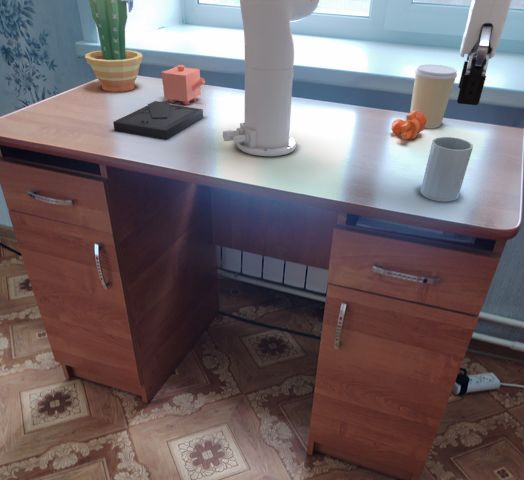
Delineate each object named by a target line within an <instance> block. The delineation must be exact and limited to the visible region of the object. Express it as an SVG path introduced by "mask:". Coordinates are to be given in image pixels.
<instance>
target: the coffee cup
mask: <svg viewBox="0 0 524 480" xmlns="http://www.w3.org/2000/svg"><path fill="white" fill-rule="evenodd" d="M457 76H458V73H457V69H456V68H454V67H451V66H448V65H441V64H421V65H418V66H417V68H416V69H415V77H414V84H413V89H412V96H411V103H410V111H409V113H410V112H412V111H415V110H417V112H421V113H423V114H424V115H425V116H426V118H427V122H426V125H425V129H436V128H439V127H441V125H442V122H443V119H444V116H445V113H446V110H447V107H448V104H449V101H450V98H451V94H452V91H453V88H454V86H455V85H454V84H455V81H456V78H457Z"/></svg>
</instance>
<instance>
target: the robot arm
mask: <svg viewBox="0 0 524 480" xmlns="http://www.w3.org/2000/svg"><path fill="white" fill-rule="evenodd" d="M319 3H320V0H239V6H240V12H241V21H242V27H243V38H244V122H240V123H239V127H237V128H236V129H235V130H231V129H230V130H224V131H222V139H223V141H224V142H228V141H233V142H234V144H236V146H237V148H238V149H239V150H241V151H242V152H243V153H245V154H249V155H253V156H260V157H280V156H284V155H289V154H290V153H292V152H294V151H295V150H296V148H297V141H296V140H295V138H293V136H290V128H291V116H292V115H291V114H292V97H293V82H294V81H293V80H294V64H295V63H294V62H295V45H294V38H293V33H292V29H291V23H294V22H298V21H302V20H304V19H307V18H309V17H310V16H311V15H312V14H314V12H315V11H316V9H317V8H318V5H319ZM511 3H512V0H470V5H469V9H468V14H467V17H466V22H465V26H464V30H463V34H462V39H461V42H460V43H461V44H460V47H459V48H460V49H459V55H460V57H461V58H464V57H465V55H467V56H466V60H465V61H464V63H463V66H462V67H463V68H462V70H461V75H460V79H459V83H458V89H459V92H458V95H457V100H456V102H457V104H459V105H470V106H478V105H479V104H480V101H481V98H482V93H483V90H484V87H485V82H486V79H487V75H486V73H487V71H488V70H487V69H488V65H489V60H490V59H491V60H492V58H494V56H495V54H496V52H497V48H498V46H499V44H500V40H501V37H502V35H503V30H504V27H505V25H506V21H507V18H508V14H509V11H510V7H511Z"/></svg>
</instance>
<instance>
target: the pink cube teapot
mask: <svg viewBox="0 0 524 480" xmlns="http://www.w3.org/2000/svg"><path fill="white" fill-rule="evenodd" d="M161 81H162V87H163V88H162V89H163V99H164V100H169V103H171V104H173V103H176V102H177V101H179V102H182V104H183V105H190V104H191V103H190V101H193V102H194V101H197V97H199V96H201V95H202V91H201V90H202V89H201V87H202V86H204V85H205V84H206V80H205V79H204V77H201V70H200V68H194V67H186V66H185V65H184V64H178V65H176V66H174V67H172V68H170V69H167V70H162V71H161Z"/></svg>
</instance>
